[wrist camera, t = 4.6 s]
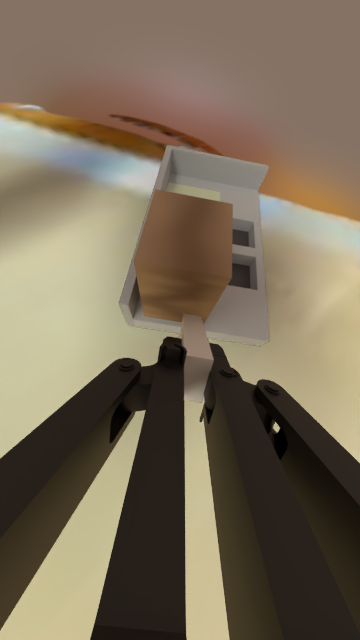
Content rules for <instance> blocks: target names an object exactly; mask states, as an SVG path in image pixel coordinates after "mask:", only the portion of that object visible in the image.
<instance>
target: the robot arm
mask: <svg viewBox="0 0 360 640" xmlns="http://www.w3.org/2000/svg"><path fill="white" fill-rule="evenodd" d="M203 396H204V399H205V403H204V406H203V410H202V413H201V417H200V422H202V419H203V417H204V426H205V434H206V443H207V451H208V460H209V468H210V477H211V485H212V493H213V502H214V510H215V519H216V527H217V536H218V544H219V553H220V561H221V570H222V578H223V587H224V595H225V604H226V612H227V621H228V629H229V638H230V640H360V463H359V462H358V461H357V460H356V459H355V458H354V457H353V456H352V455H351V454H350V453H349V452H348V451H347V450H346V449H345V448H343V447H342V446H341V445H340V444H339V443H338V442H337V441H336V440H335V439H334V438H333V437H332V436H331V435H330V434H329V433H328V432H327V431H326V430H325V429H324V428H323V427H322V426H321V425H320V424H319V423H318V422H317V421H316V420H315V419H314V418H313V417H312V416H311V415H310V414H309V413H308V412H307V411H306V410H305V409H304V408H303V407H302V406H301V405H300V404H299V403H298V402H297V401H296V400H295V399H293V398H292V397H291V396H290V395H289V394H288V393H287V392H286V391H285V390H284V389H283V388H282V387H281V386H279V385H278V384H276V383H275V382H273V381H270V380H264V379H263V380H259V381H258V382H257V385H253V384H250V383H247V382H245V381H243V380H242V378H241V376H240V374H239V373H238V372H237V371H236V370H235V369H233V368H231V367H230V365H229V363H228V360H227V358H226V355H225V354H224V351H223V349H222V348H221V347H220V346H219V345H218V344H212V343H209V342H208V338H207V334H206V331H205V327H204V324H203V320H202V317H200V316H195V315H189V314H184V315H183V320H182V325H181V330H180V335H179V338H174V337H168V336H167V337H166V338H165V339H164V340H163V344H162V345H161V346H160V349H159V356H158V362H157V363H156V364H154V365H151V366H143V367H141V364H140V363H139V361H137V360H135V359H132V358H121V359H118V360H116V361H114V362H113V363H112V364H110V365H109V366H108V367H107V368H106V369H105V370H103V371H102V372H101V373H100V374H99V375H98V376H96V377H95V378H94V379H93V380H92V381H91V382H89V383H88V384H87V385H86V386H85V387H84V388H82V389H81V390H80V391H79V392H78V393H77V394H75V395H74V396H73V397H72V398H71V399H70V400H68V401H67V402H66V403H65V404H64V405H63V406H61V407H60V408H59V409H58V410H57V411H56V412H54V413H53V414H52V415H51V416H50V417H49V418H47V419H46V420H45V421H44V422H43V423H42V424H40V425H39V426H38V427H37V428H36V429H34V430H33V431H32V432H31V433H30V434H29V435H27V436H26V437H25V438H24V439H23V440H22V441H20V442H19V443H18V444H17V445H16V446H15V447H13V448H12V449H11V450H10V451H9V452H8V453H6V454H5V455H4V456H3V457H2V458H1V459H0V630H1V628H2V627H3V625H4V623H5V622H6V620H7V619H8V617H9V615H10V614H11V612H12V611H13V609H14V607H15V606H16V604H17V603H18V601H19V599H20V598H21V596H22V595H23V593H24V591H25V590H26V588H27V587H28V585H29V583H30V582H31V580H32V579H33V577H34V575H35V574H36V572H37V570H38V569H39V567H40V566H41V564H42V562H43V561H44V559H45V558H46V556H47V554H48V553H49V551H50V550H51V548H52V546H53V545H54V543H55V542H56V540H57V538H58V537H59V535H60V534H61V532H62V530H63V529H64V527H65V526H66V524H67V522H68V521H69V519H70V518H71V516H72V514H73V513H74V511H75V510H76V508H77V506H78V505H79V503H80V501H81V500H82V498H83V497H84V495H85V493H86V492H87V490H88V489H89V487H90V485H91V484H92V482H93V481H94V479H95V477H96V476H97V474H98V473H99V471H100V469H101V468H102V466H103V465H104V463H105V461H106V460H107V458H108V457H109V455H110V453H111V452H112V450H113V449H114V447H115V445H116V444H117V442H118V440H119V439H120V437H121V436H122V434H123V432H124V431H125V429H126V428H127V426H128V424H129V423H130V421H131V420H132V418H133V416H134V415H135V412H136V411H142V410H146V412H145V416H144V420H143V424H142V428H141V433H140V437H139V441H138V445H137V449H136V453H135V458H134V462H133V466H132V470H131V474H130V478H129V483H128V487H127V491H126V495H125V499H124V503H123V508H122V512H121V516H120V520H119V524H118V528H117V533H116V537H115V541H114V545H113V549H112V554H111V558H110V562H109V566H108V570H107V574H106V579H105V583H104V587H103V591H102V595H101V599H100V604H99V608H98V612H97V616H96V620H95V624H94V628H93V631H92V635H91V639H90V640H187V639H186V604H185V448H184V400H186V401H193V402H199V403H202V400H203ZM275 422H276V423H277V424H278V425H279V427H280V430H279V432H278V433H277V432H276V431H275V430H274V429H273V426H274V424H275Z"/></svg>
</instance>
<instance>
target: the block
mask: <svg viewBox="0 0 360 640" xmlns="http://www.w3.org/2000/svg"><path fill="white" fill-rule="evenodd" d="M232 234H233V204H230V203H225V202H220V201H215V200H210V199H204V198H199V197H194V196H189V195H184V194H178V193H173V192H168V191H163V190H158V189H155V192H154V195H153V198H152V202H151V205H150V208H149V212H148V215H147V218H146V222H145V225H144V228H143V232H142V235H141V238H140V242H139V245H138V248H137V252H136V255H135V258H134V265H135V270H136V276H137V281H138V286H139V292H140V297H141V303H142V308H143V313H144V316H145V317H151V318H157V319H163V320H170V321H176V322H182V320H183V315H184V314H189V315H195V316H200V317H202V320H203V324H204V323H205V322H206V320H207V318H208V317H209V315H210V313H211V312H212V310H213V308H214V307H215V305H216V303H217V302H218V300H219V298H220V297H221V295H222V294H223V292H224V290H225V289H226V287H227V285H228V284H229V282H230V280H231V279H232Z"/></svg>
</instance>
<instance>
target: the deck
mask: <svg viewBox="0 0 360 640" xmlns="http://www.w3.org/2000/svg"><path fill="white" fill-rule="evenodd" d="M268 169H269V167H268V165H263V164H259V163H253V162H249V161H244V160H239V159H234V158H229V157H224V156H219V155H214V154H209V153H205V152H200V151H195V150H190V149H185V148H180V147H175V146H170V145H167V147H166V150H165V153H164V157H163V160H162V163H161V166H160V170H159V173H158V176H157V179H156V183H155V186H154V189H153V192H152V196H151V199H150V202H149V206H148V209H147V212H146V215H145V219H144V222H143V225H142V228H141V232H140V235H139V238H138V241H137V245H136V248H135V251H134V255H133V258H132V261H131V264H130V268H129V271H128V274H127V277H126V281H125V284H124V287H123V290H122V294H121V297H120V300H119V306H120V308H121V310H122V313H123V315H124V317H125V320H126V322H127V324H128V326H134V327H141V328H147V329H153V330H160V331H166V332H172V333H179V334H180V330H181V325H182V322H176V321H170V320H163V319H157V318H151V317H145V316H144V313H143V308H142V303H141V297H140V292H139V286H138V281H137V276H136V270H135V265H134V258H135V255H136V252H137V248H138V245H139V242H140V238H141V235H142V232H143V228H144V225H145V222H146V218H147V215H148V212H149V208H150V205H151V202H152V198H153V195H154V192H155V189H158V190H163V191H168V192H173V193H178V194H184V195H189V196H194V197H199V198H204V199H210V200H215V201H220V202H225V203H230V204H233V234H232V279H231V280H230V282H229V284H228V285H227V287H226V289H225V290H224V292H223V294H222V295H221V297H220V298H219V300H218V302H217V303H216V305H215V307H214V308H213V310H212V312H211V313H210V315H209V317H208V318H207V320H206V322H205V323H204V327H205V331H206V334H207V338H210V339H217V340H223V341H229V342H236V343H242V344H248V345H255V346H262V345H264V344H265V343H267V342H269V341H270V335H269V323H268V310H267V297H266V284H265V271H264V259H263V246H262V233H261V220H260V207H259V195H258V190H259V188H260V186H261V183H262V181H263V179H264V177H265V175H266V173H267V171H268Z"/></svg>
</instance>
